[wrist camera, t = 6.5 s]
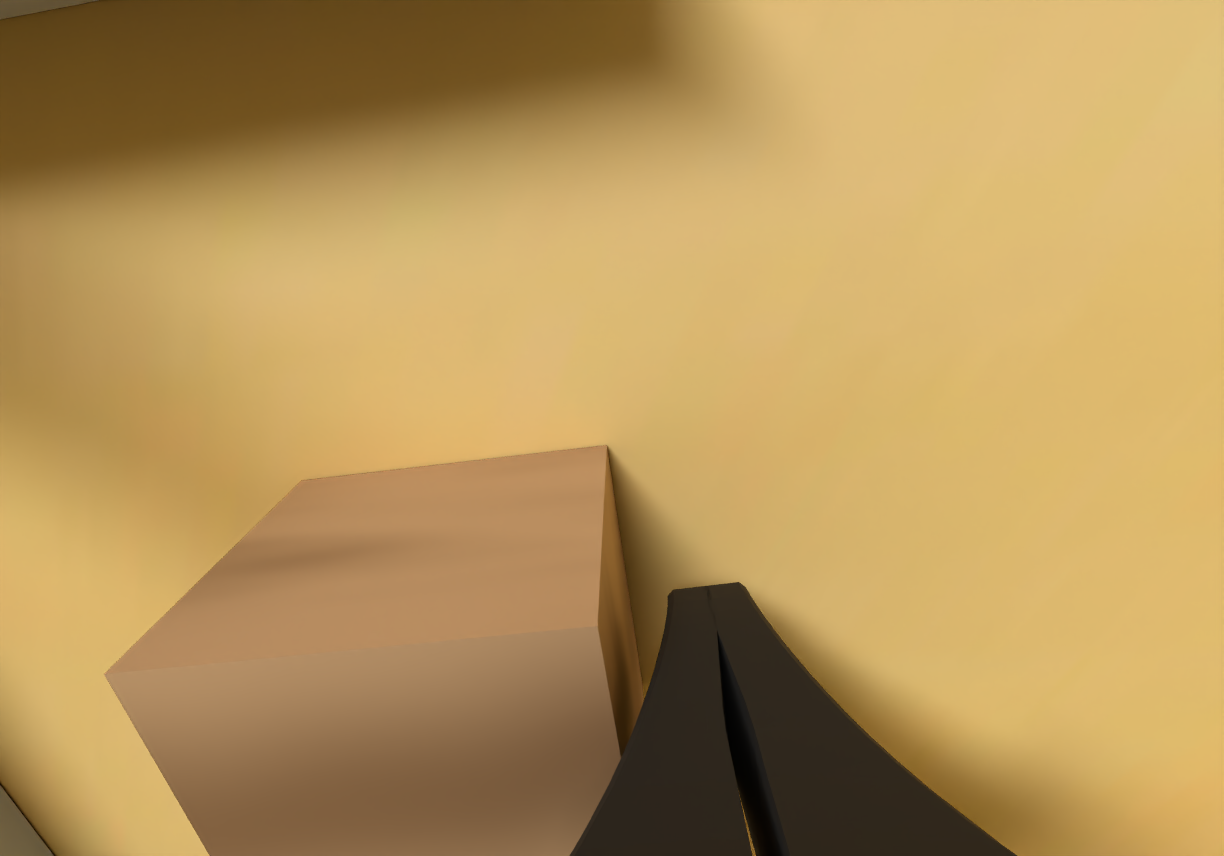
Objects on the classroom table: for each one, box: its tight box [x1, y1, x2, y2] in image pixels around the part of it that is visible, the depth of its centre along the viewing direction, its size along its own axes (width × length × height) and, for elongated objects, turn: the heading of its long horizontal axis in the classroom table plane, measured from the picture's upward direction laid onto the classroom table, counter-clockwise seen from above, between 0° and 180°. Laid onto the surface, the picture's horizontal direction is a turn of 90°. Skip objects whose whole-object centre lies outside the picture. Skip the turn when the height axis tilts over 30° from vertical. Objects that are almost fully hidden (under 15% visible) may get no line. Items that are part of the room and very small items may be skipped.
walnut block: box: [104, 445, 643, 856], centre depth 11 cm, size 6×6×5 cm
